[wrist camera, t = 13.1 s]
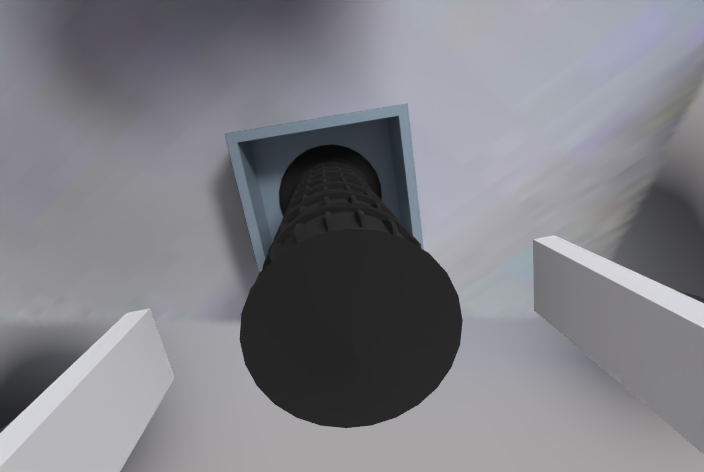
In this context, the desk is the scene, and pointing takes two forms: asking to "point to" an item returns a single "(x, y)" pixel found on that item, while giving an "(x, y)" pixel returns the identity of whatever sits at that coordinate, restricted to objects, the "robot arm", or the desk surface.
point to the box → (295, 138)
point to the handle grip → (346, 301)
